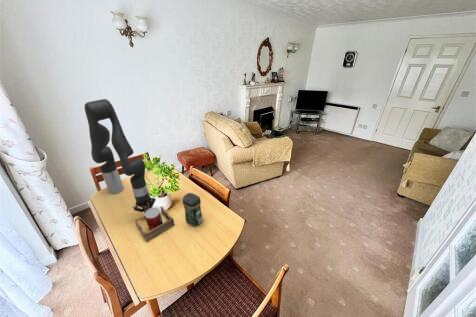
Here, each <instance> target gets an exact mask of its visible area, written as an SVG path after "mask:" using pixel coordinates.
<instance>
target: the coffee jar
mask: <svg viewBox="0 0 476 317" xmlns="http://www.w3.org/2000/svg"><path fill="white" fill-rule="evenodd" d="M201 203H202V200H201V197H200V196H199V195H197V194H195V193H192V192H191V193H190V192H188V193H186V194H185V195H184V196H183V197H182V205H183V207H184V216H185V221H186V223H187V224H188V225H190V226H193V227H197V226H199V225H201V224H202V222H203V220H204V218H203V214H202V210H201Z"/></svg>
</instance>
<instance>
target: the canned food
mask: <svg viewBox="0 0 476 317" xmlns="http://www.w3.org/2000/svg"><path fill="white" fill-rule="evenodd" d="M144 218H145V222H146V225H147V228H148V230H149V231H150V230H152V229H154V228H156V227H158V226H159V225H161V224H163V223H164V222H163V219H162V212H161V209H160V208H158V207H152V208H150V209H148V210H147V211H146V212H145V214H144Z"/></svg>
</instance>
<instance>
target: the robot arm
mask: <svg viewBox="0 0 476 317" xmlns="http://www.w3.org/2000/svg"><path fill="white" fill-rule="evenodd" d="M84 113H85V115H86V116H85V117H86V120H87V124H88V131H89V138H90V144H91V149H90V150H91V153H90V154H91V159H92V160H93V161H94V163H95V164H102V165H101V166H100V167H99V170H100V172H101V175H102V177H103V179H104V180H103V181H104V183H105V185H106V188H107V190H108V192H109V194H110V193H112V195H116V194H120V193H122V192H123V190H124V189H125V187H124V185H123V180H122V178H121V176H120V173H119V171H118V166H117V164H116V160H115V157H114V153H113V150H112V149H111V148H110V147H109V146H108V144H109V143H110V141H111V145H112V147H113V149H114V151H115V153H116V154H117V155H118V158H119V161H120V165H121V170H122V172H123V174H124V175H125V176H127V177H130V178H129V179H130V180H129V182H130V184H131V185H130V186H131V188H132V193H133V196H134V200H135V205H133V206H132V209H133V211H136V212H138V213H143V214H144V215H145V212H146V211H147V210H148V209H150V208H153V206H154V204H155V203H156V201H157V199H156V198H155V197H154V198H153V197H151V195H150V191H149V188H148V185H147V181H146V179H145V177H146V163H145V161H144V160H143V159H142V158H140V157H136V158H134V159H132V160H128V159H129V157H130V156H132V155H133V154H134V152H135V151H134V149H133V147H132V146H131V144H130V143H129V141H128V139H127V137H126V135H125V133H124V130H123V128H122V125H121V122H120V120H119V118H118V115H117V113H116V110H115V108H114V106H113V105H112V103H111V101H109V100H108V99H106V98H103V99H96V100H93V101H88V102H86V103H85V104H84ZM107 119H109V120H110V123H111V128H112V129H111V134H110V130H109V128H108V127H106V126H105V125H103V124H102V123H100V121H104V120H107ZM115 193H116V194H115Z"/></svg>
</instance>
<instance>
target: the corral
mask: <svg viewBox="0 0 476 317" xmlns="http://www.w3.org/2000/svg"><path fill="white" fill-rule="evenodd" d="M159 209H160V213H161V215H162V216H164V218H165V219H166V220H167V221H165V222H163V224H161V225H159V226H158V227H156V228H154V229H152V230H149V231H147V232H146V231H145V229H143V226H141V225H142V224H140V223H139V221H138V219H135V220H134V222H135V226H136V227H137V229H138V231H139V232H140V234H141V235H142V236H143V239H144V240H145V242H146V243H147V242H149V241H151V240H153V239H154V238H156V237H158V236H159V235H161V234H162V233H164V232H165V231H168V230H169V229H171V228H172V227H175V221H174V218H173V217H172V216H171V215H170V213H169V212H168V211H167V210H166V209H165V208H164V207H163V206H160V208H159Z"/></svg>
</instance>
